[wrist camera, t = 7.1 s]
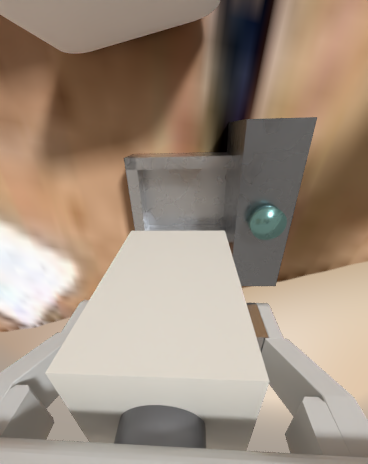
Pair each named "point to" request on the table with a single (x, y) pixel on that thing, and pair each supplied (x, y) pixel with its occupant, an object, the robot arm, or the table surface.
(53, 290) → the table surface
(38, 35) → the cable organizer
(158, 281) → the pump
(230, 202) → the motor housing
